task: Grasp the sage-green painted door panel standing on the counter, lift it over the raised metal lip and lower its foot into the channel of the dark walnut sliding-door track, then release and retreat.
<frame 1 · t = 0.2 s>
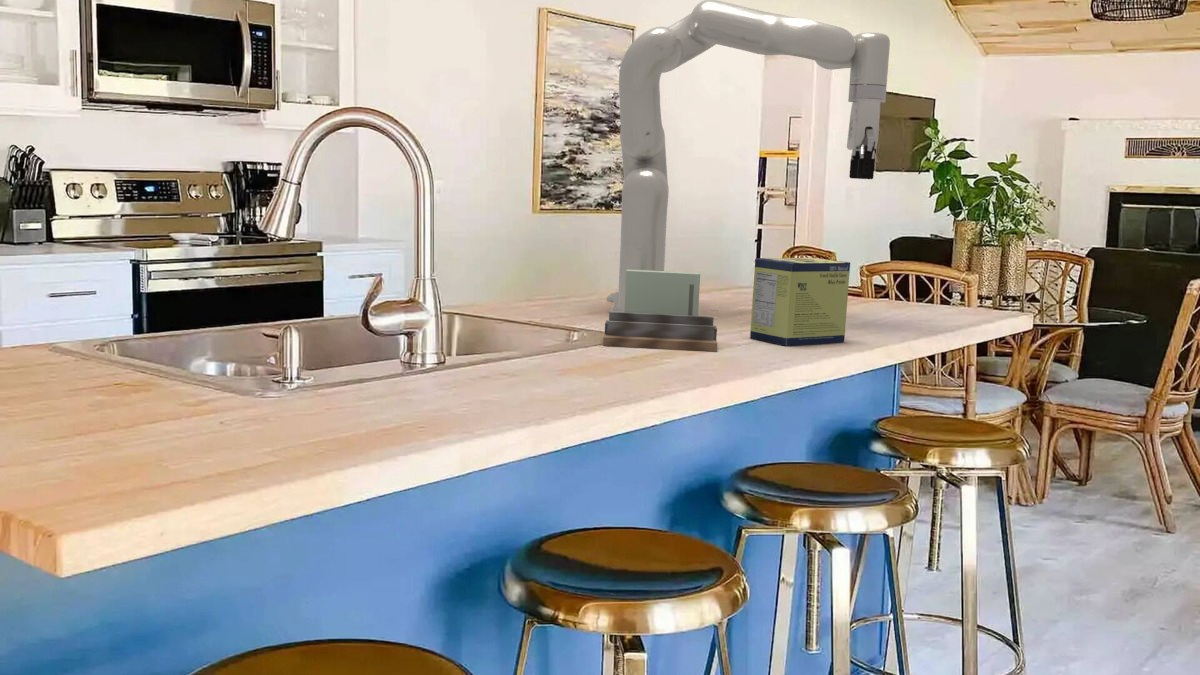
hand: (860, 178, 245), 31 cm above the worktop, tool pointing down, fingers open, 9 cm apart
door track: (659, 343, 213), on the worktop
door panel: (660, 334, 226), on the worktop
protein box: (797, 341, 225), on the worktop
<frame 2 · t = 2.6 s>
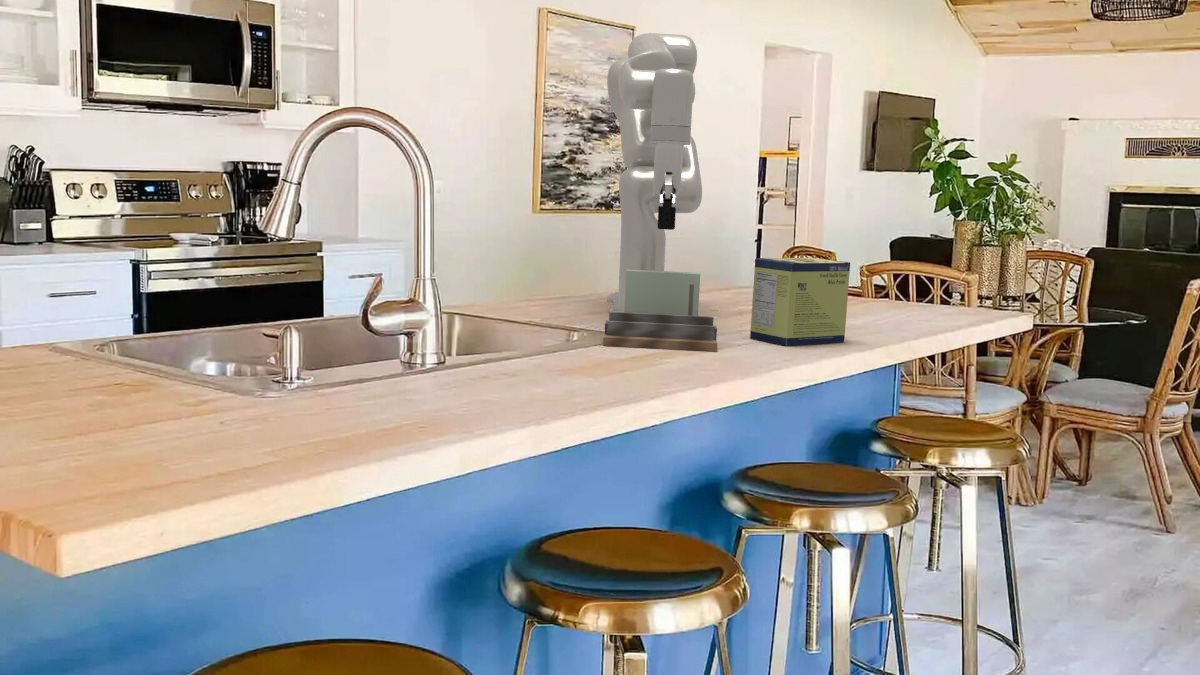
hand: (665, 228, 223), 20 cm above the worktop, tool pointing down, fingers open, 9 cm apart
nothing on the worktop moved.
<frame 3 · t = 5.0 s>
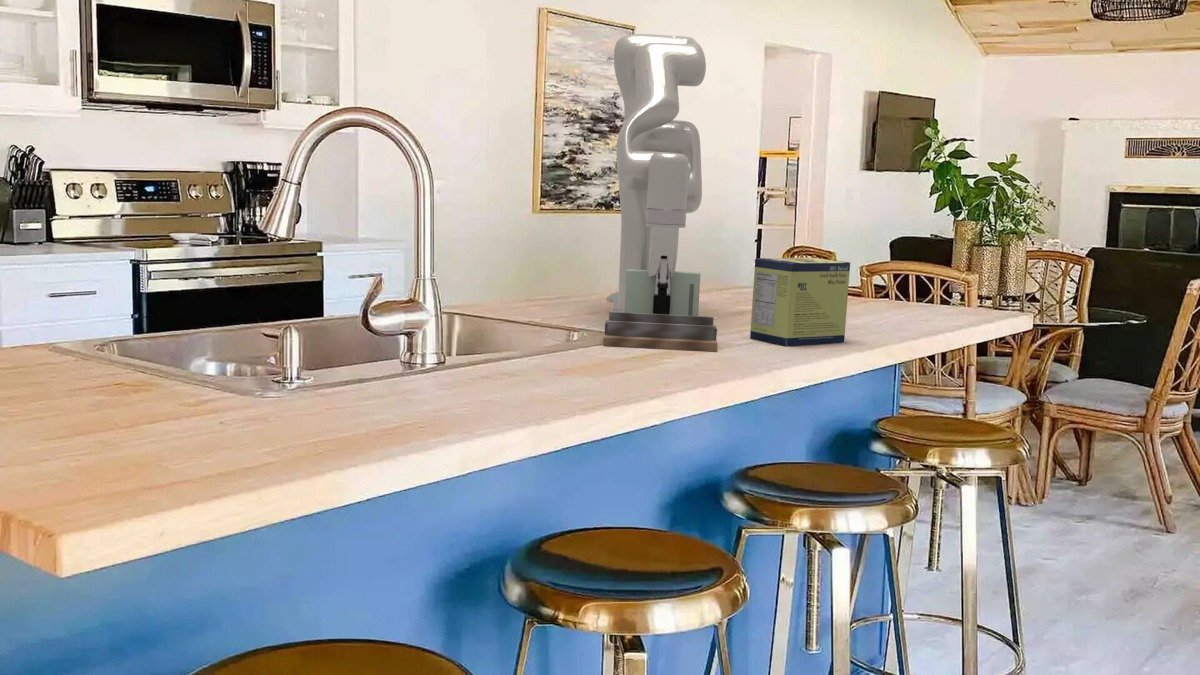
hand: (661, 314, 225), 4 cm above the worktop, tool pointing down, fingers closed on door panel, 3 cm apart
door panel: (660, 333, 226), on the worktop, touching gripper
everything else where it was.
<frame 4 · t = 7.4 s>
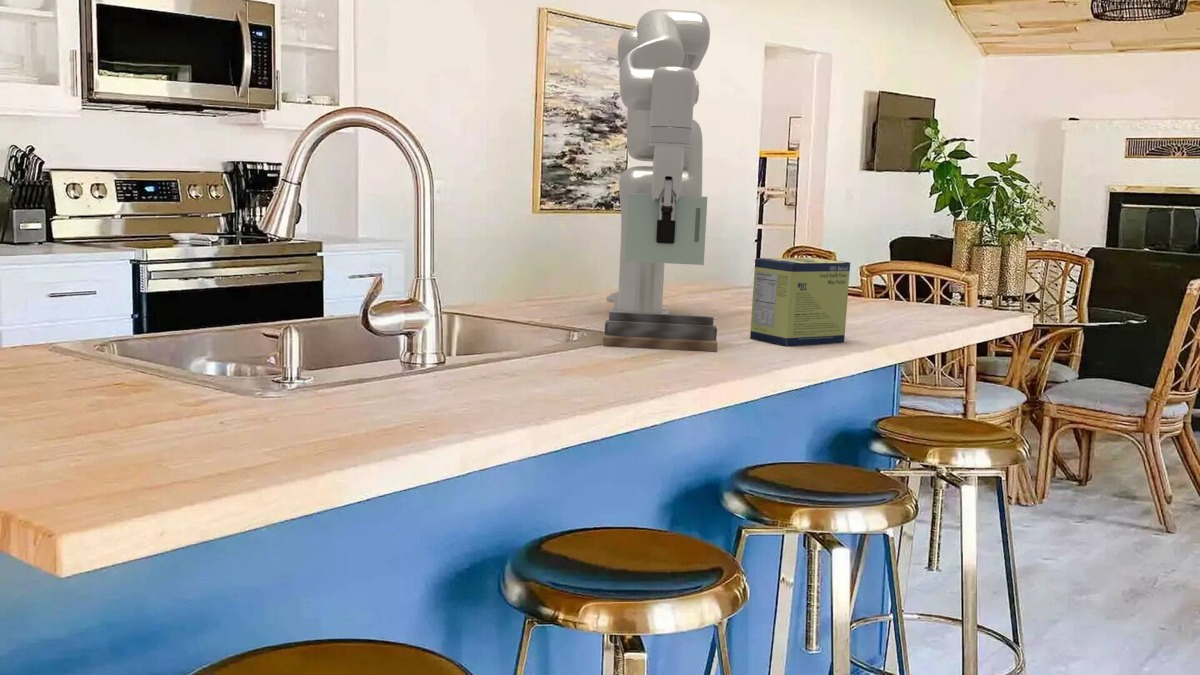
hand: (665, 241, 210), 18 cm above the worktop, tool pointing down, fingers closed on door panel, 3 cm apart
door panel: (664, 262, 211), point 15 cm above the worktop, touching gripper
everything else where it was.
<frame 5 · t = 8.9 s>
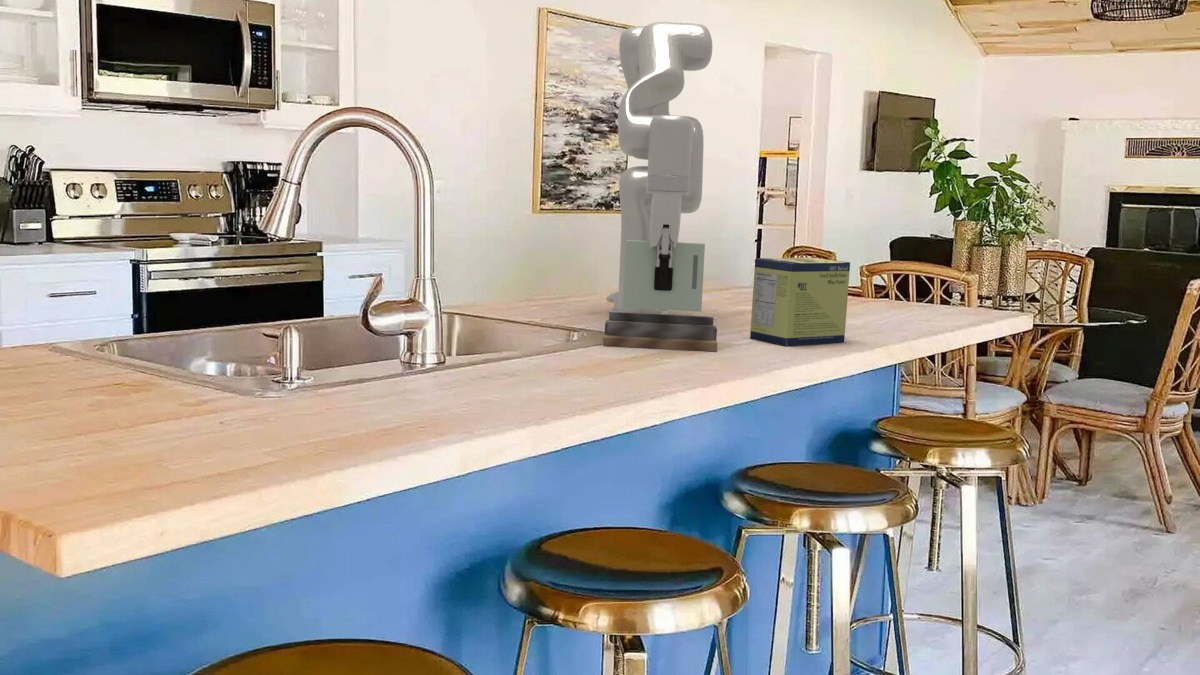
hand: (662, 288, 211), 10 cm above the worktop, tool pointing down, fingers closed on door panel, 3 cm apart
door panel: (662, 308, 212), point 6 cm above the worktop, touching gripper
everything else where it was.
when the fingers open (6 cm above the worktop, at t = 9.9 s): door panel stays where it is, resting on door track.
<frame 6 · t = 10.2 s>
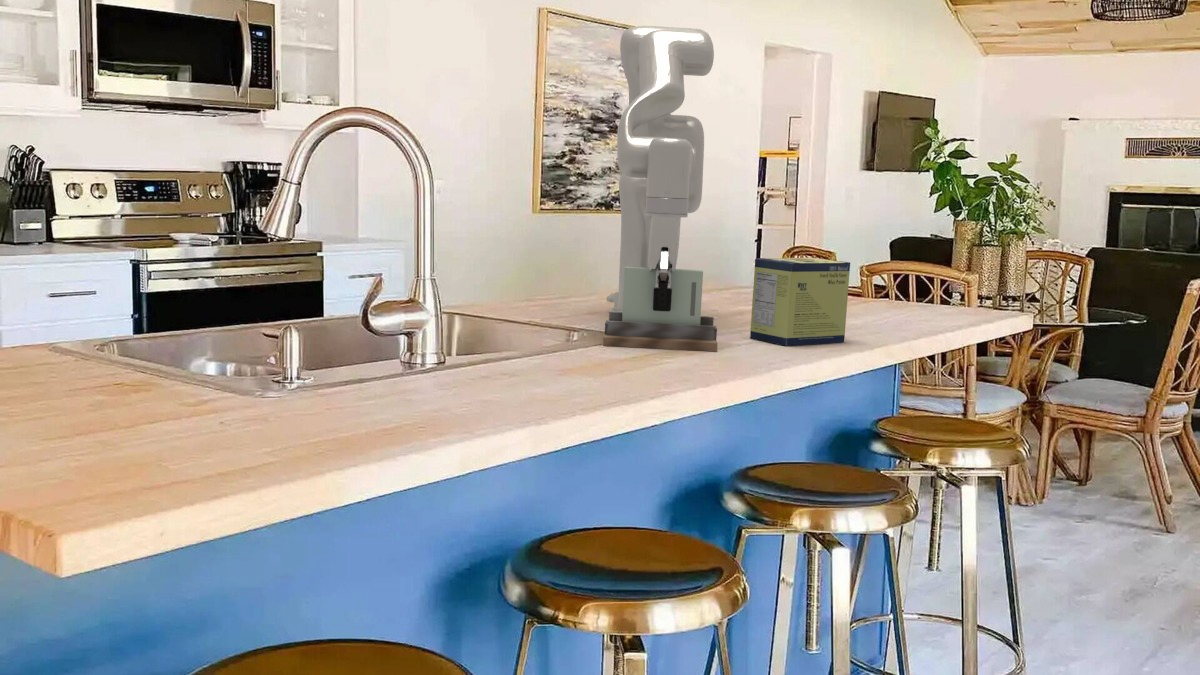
hand: (661, 307, 212), 7 cm above the worktop, tool pointing down, fingers open, 6 cm apart
door panel: (660, 335, 213), point 2 cm above the worktop, touching door track
everything else where it was.
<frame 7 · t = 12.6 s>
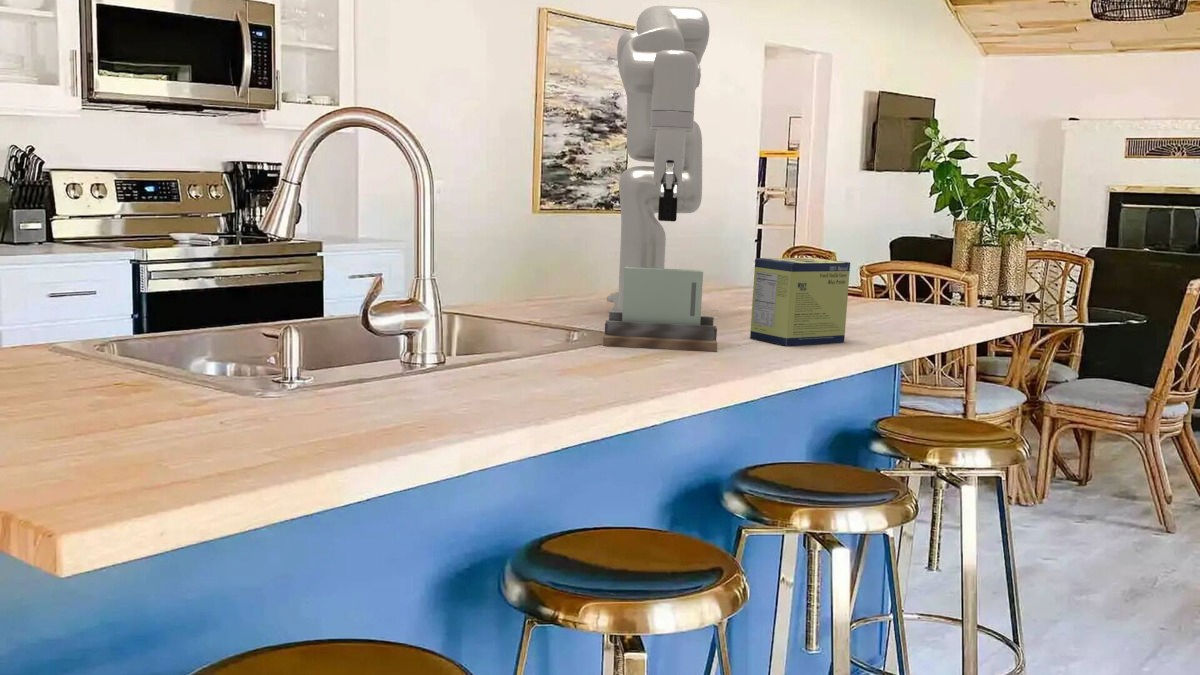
hand: (667, 219, 211), 22 cm above the worktop, tool pointing down, fingers open, 9 cm apart
nothing on the worktop moved.
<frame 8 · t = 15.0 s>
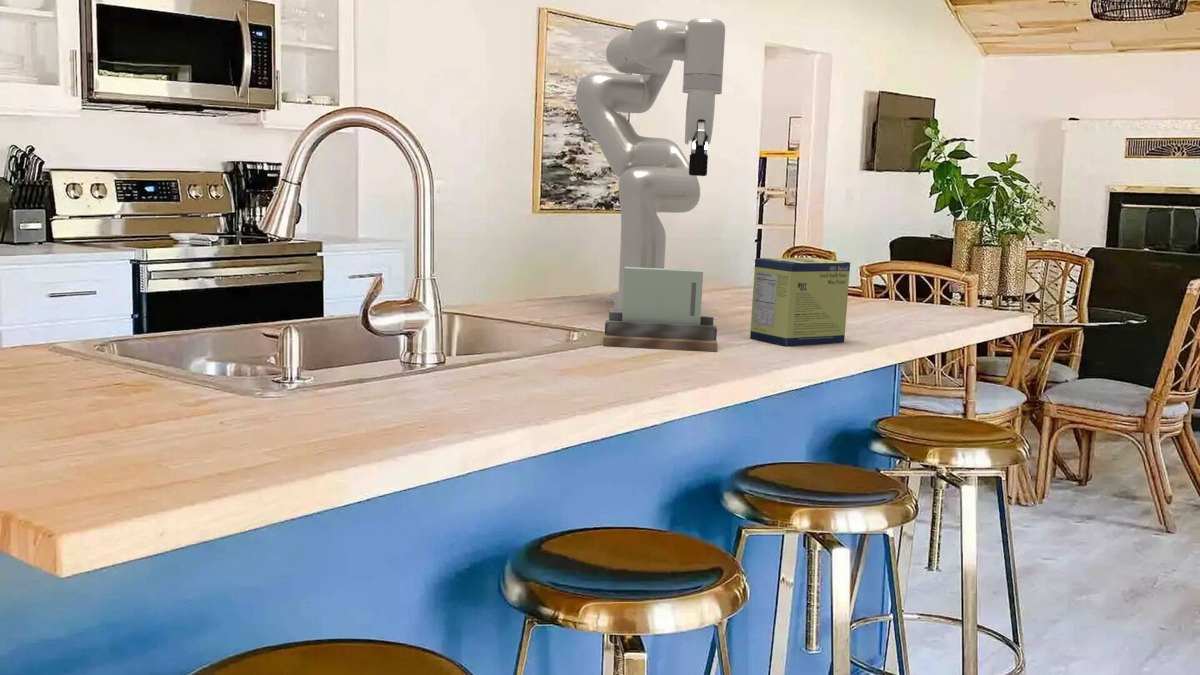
hand: (697, 175, 228), 30 cm above the worktop, tool pointing down, fingers open, 9 cm apart
nothing on the worktop moved.
at the end: door panel 0.1 cm off-centre on the door track, point 1.5 cm above the door track's base; door panel tilted 0°; the gripper is holding nothing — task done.
